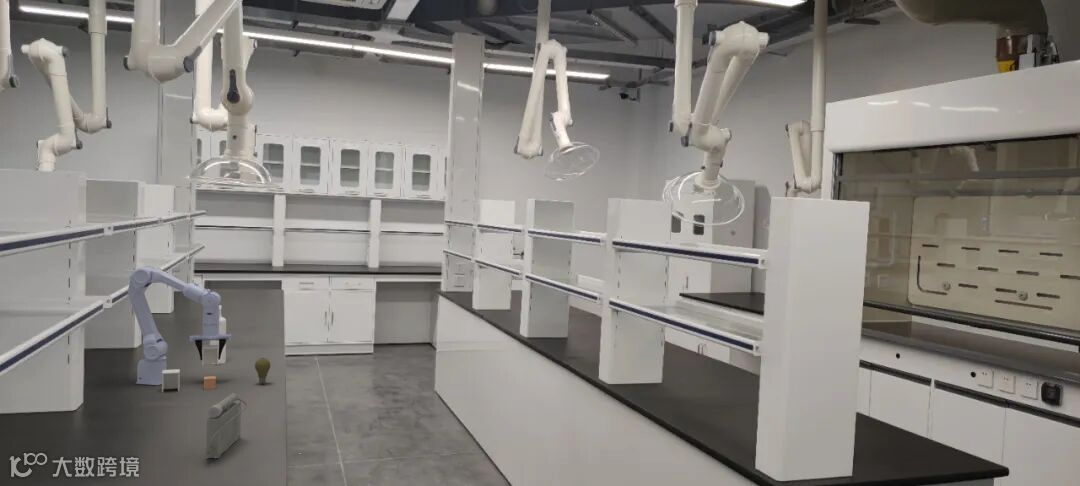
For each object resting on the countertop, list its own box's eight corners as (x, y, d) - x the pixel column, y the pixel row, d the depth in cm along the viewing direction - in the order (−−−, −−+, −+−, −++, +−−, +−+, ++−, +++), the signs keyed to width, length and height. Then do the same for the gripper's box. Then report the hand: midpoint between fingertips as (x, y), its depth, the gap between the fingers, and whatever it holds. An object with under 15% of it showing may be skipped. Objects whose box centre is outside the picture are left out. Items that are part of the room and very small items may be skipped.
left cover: (161, 392, 270) (162, 373, 270) (162, 388, 275) (162, 370, 275) (179, 391, 273) (179, 372, 272) (179, 387, 278) (179, 369, 277)
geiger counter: (227, 390, 221) (195, 412, 196) (249, 390, 221) (220, 412, 196) (226, 437, 221) (194, 465, 196) (248, 437, 222) (219, 465, 197)
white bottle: (207, 365, 317) (209, 306, 317) (209, 361, 328) (212, 303, 328) (224, 365, 319) (227, 306, 319) (226, 360, 330) (228, 304, 330)
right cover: (202, 366, 284) (202, 347, 284) (202, 363, 289) (202, 345, 289) (218, 365, 286) (218, 347, 286) (218, 362, 291) (218, 344, 291)
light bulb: (264, 386, 285) (265, 360, 284) (251, 385, 286) (252, 358, 286) (273, 383, 290) (273, 357, 290) (259, 381, 291) (260, 356, 291)
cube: (203, 389, 277) (204, 379, 277) (203, 387, 280) (203, 376, 280) (215, 389, 278) (215, 378, 278) (215, 386, 282) (215, 376, 282)
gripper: (189, 326, 280) (189, 362, 281) (231, 324, 286) (231, 360, 287) (190, 323, 287) (189, 358, 287) (231, 322, 293) (230, 356, 293)
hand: (210, 359), depth 288 cm, fingers closed on right cover, 6 cm apart
